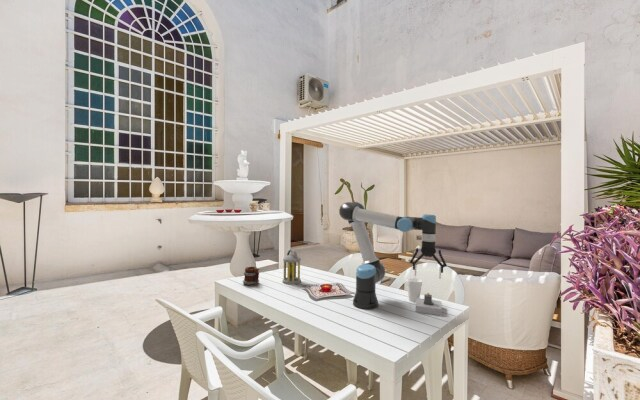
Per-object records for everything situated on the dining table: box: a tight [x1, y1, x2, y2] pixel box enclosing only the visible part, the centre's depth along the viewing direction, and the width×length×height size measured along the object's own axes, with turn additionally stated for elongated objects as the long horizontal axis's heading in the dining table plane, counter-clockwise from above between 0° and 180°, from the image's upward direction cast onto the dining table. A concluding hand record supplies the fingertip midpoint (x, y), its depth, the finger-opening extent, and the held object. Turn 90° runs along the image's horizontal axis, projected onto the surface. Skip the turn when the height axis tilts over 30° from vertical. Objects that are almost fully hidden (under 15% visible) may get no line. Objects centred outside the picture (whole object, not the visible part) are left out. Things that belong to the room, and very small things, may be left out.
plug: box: [423, 292, 433, 305], centre depth 177 cm, size 4×4×8 cm
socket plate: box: [414, 297, 443, 316], centre depth 177 cm, size 14×14×4 cm
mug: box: [242, 266, 260, 287], centre depth 223 cm, size 12×14×15 cm
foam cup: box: [406, 277, 423, 303], centre depth 192 cm, size 10×9×13 cm
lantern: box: [281, 248, 302, 285], centre depth 231 cm, size 14×14×25 cm
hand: (427, 276), depth 177 cm, fingers open, 13 cm apart
